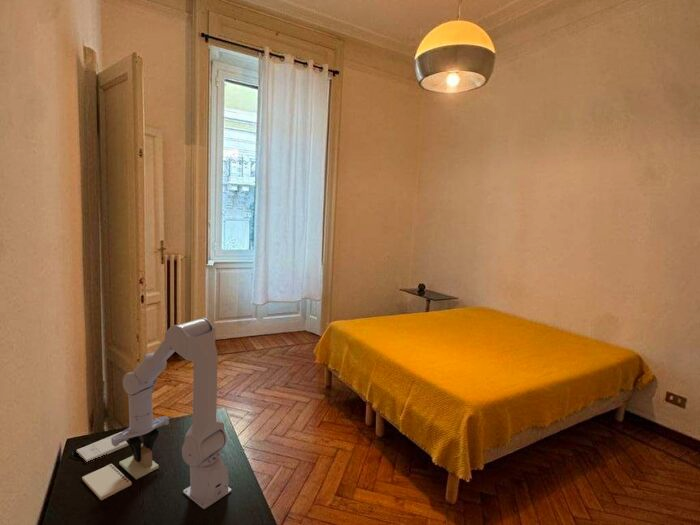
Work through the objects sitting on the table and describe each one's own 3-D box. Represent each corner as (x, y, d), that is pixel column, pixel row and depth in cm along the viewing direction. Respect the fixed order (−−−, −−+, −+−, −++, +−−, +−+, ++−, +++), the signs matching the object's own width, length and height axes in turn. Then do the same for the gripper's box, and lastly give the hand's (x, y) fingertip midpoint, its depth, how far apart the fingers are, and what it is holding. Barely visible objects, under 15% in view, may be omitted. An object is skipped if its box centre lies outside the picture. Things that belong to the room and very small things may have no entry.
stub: (158, 467, 104) (158, 451, 103) (136, 479, 99) (135, 462, 98) (141, 454, 110) (141, 438, 109) (119, 464, 105) (118, 448, 104)
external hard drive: (133, 445, 115) (86, 465, 105) (121, 435, 120) (76, 454, 110) (133, 440, 115) (86, 459, 105) (121, 430, 120) (75, 448, 110)
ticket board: (131, 484, 97) (131, 481, 97) (101, 500, 91) (100, 497, 91) (111, 466, 104) (111, 463, 104) (82, 479, 98) (82, 476, 98)
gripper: (159, 398, 112) (161, 441, 113) (105, 417, 100) (107, 465, 101) (172, 405, 108) (173, 449, 109) (117, 426, 96) (119, 476, 97)
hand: (142, 458), depth 105 cm, fingers closed on stub, 2 cm apart
